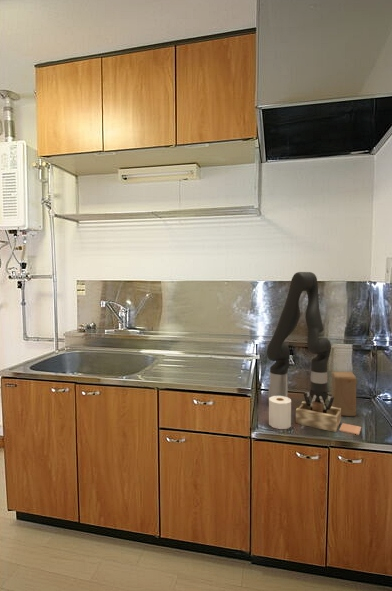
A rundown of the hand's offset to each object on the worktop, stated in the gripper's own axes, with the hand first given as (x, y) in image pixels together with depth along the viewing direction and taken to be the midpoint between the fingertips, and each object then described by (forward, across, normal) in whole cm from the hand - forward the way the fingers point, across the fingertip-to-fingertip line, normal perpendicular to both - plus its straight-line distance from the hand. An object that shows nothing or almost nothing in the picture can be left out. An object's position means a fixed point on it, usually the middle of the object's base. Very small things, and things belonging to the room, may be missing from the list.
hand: (318, 415), depth 163 cm
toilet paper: (+4, -15, -11) cm, 19 cm away
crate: (+3, 0, 0) cm, 3 cm away
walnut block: (+1, 0, 0) cm, 1 cm away
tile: (+3, +14, 0) cm, 14 cm away
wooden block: (+4, +8, +19) cm, 21 cm away
